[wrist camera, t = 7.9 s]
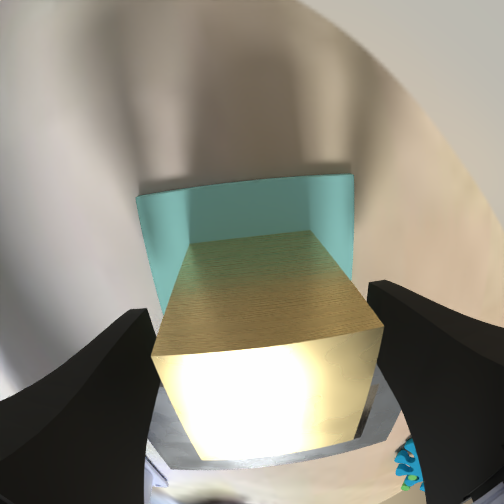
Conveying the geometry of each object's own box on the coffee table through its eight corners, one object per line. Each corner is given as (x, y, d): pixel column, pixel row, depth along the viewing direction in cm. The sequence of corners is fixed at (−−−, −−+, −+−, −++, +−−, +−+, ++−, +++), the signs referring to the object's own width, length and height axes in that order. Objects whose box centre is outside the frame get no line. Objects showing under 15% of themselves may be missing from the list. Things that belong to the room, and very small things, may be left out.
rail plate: (172, 454, 17) (171, 469, 16) (121, 367, 13) (114, 385, 12) (380, 427, 17) (385, 440, 16) (414, 330, 14) (426, 345, 12)
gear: (442, 420, 16) (502, 465, 11) (451, 383, 21) (504, 426, 16) (367, 471, 21) (423, 508, 16) (386, 437, 26) (437, 473, 21)
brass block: (209, 339, 12) (201, 460, 7) (189, 243, 10) (150, 355, 5) (311, 327, 12) (353, 439, 7) (310, 229, 11) (384, 326, 5)
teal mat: (180, 359, 13) (179, 365, 13) (138, 195, 10) (135, 197, 10) (342, 340, 13) (344, 345, 13) (349, 173, 10) (353, 174, 10)
